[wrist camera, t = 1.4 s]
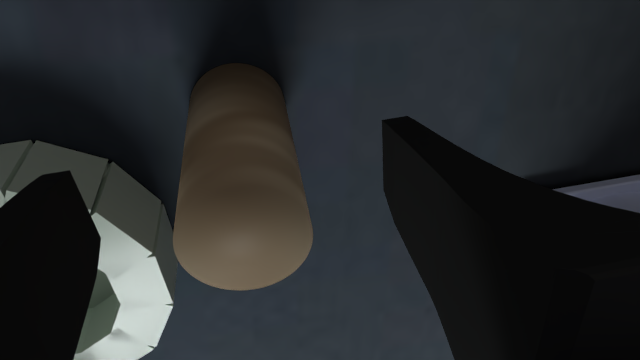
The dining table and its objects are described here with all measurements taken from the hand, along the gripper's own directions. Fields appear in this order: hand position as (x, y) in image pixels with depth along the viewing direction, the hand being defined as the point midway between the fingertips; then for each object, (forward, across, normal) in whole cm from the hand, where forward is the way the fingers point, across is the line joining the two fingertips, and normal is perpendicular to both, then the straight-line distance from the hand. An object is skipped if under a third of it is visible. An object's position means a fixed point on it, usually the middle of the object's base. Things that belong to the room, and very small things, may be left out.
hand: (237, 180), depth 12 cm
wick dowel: (+4, 0, 0) cm, 4 cm away
